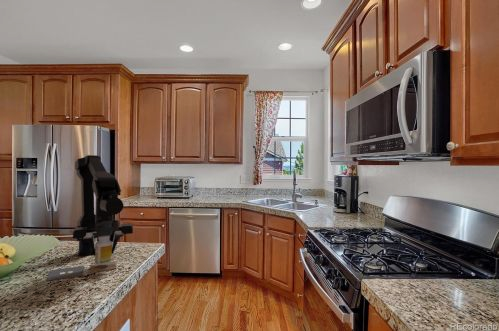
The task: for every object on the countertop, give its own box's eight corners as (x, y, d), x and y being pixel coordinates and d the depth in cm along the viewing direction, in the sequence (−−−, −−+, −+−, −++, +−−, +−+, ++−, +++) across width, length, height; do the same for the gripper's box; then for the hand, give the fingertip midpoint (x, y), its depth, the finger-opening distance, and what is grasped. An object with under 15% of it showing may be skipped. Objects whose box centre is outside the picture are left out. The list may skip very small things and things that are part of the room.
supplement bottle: (114, 260, 100) (115, 233, 100) (105, 265, 95) (106, 237, 95) (101, 259, 101) (101, 233, 101) (91, 264, 95) (92, 236, 95)
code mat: (50, 270, 93) (50, 270, 93) (84, 266, 98) (84, 265, 98) (45, 281, 85) (45, 280, 85) (82, 275, 89) (82, 275, 89)
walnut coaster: (90, 265, 99) (90, 264, 99) (115, 262, 103) (115, 261, 103) (90, 272, 92) (90, 271, 92) (116, 268, 96) (116, 267, 96)
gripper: (71, 216, 86) (70, 265, 86) (135, 212, 96) (134, 257, 95) (74, 211, 96) (73, 255, 96) (131, 208, 105) (130, 249, 105)
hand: (103, 254), depth 98 cm, fingers closed on supplement bottle, 5 cm apart
